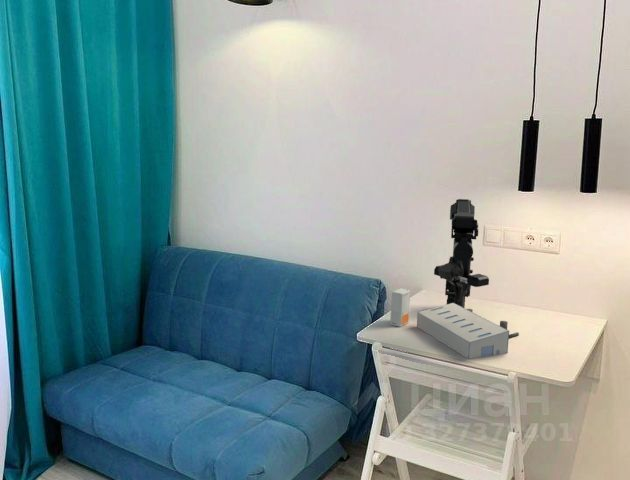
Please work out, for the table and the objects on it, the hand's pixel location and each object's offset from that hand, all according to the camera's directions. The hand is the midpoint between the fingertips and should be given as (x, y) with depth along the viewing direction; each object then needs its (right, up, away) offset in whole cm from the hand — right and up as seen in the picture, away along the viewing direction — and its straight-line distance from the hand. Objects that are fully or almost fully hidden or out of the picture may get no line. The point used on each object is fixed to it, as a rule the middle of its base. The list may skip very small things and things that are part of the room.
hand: (459, 300), depth 195 cm
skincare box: (-17, -10, +15) cm, 25 cm away
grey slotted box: (+1, -13, +1) cm, 13 cm away
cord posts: (+12, -10, +13) cm, 20 cm away
